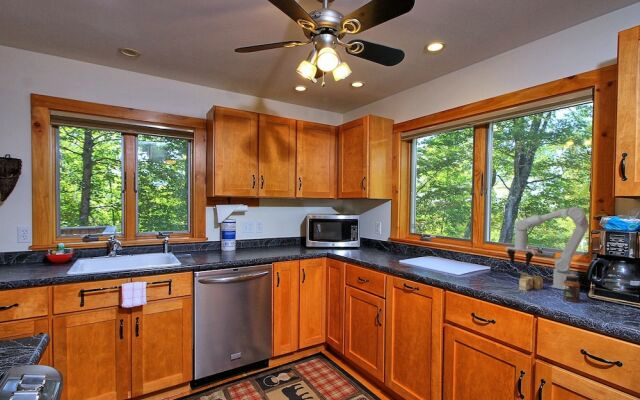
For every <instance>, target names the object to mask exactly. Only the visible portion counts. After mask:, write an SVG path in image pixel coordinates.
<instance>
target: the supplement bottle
mask: <svg viewBox="0 0 640 400" xmlns="http://www.w3.org/2000/svg"><path fill="white" fill-rule="evenodd" d="M580 288H581V287H580V282H579V281H578V277H577V276H576V277H575V276H566V280H564V289H563V292H562V293H563V295H562V296H563V300H564V301H567V302H570V303H571V302H572V303H579V302H580V299H581V297H580V293H581V289H580Z"/></svg>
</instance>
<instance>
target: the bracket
mask: <svg viewBox="0 0 640 400" xmlns="http://www.w3.org/2000/svg"><path fill="white" fill-rule="evenodd" d="M527 276H528V277H533V278H534V285H533V289H535V290H541V289H543V288H544V286H543V284H544V283H543V282H544V278H543V277H541V276H540V275H536V276H535V275H529V274H527V273H525V272H524V273H522V274H520V279H521V278H524V277H527Z"/></svg>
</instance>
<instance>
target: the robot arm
mask: <svg viewBox="0 0 640 400" xmlns="http://www.w3.org/2000/svg"><path fill="white" fill-rule="evenodd" d="M562 217H563V218H568V217H569V218H570V219H571V220H572V221H573V223H574V225H575V228H574V229H573V232H572V233H571V235H570V237H569V238H568V241H567V243H566V245H565V246H564V248H563V251H562V252H561V254H560V255H559V257H558V258H556V259H555V260H554V262H553V263H554V267H555V268H553V275H552V277H553V279H552V280H553V281H552V285H550V288H553V289H558V290H563V289H564V280H566V276H575V277H577V274H576V273H574V272H573V273H572V272H571V270H570V269H571V263H572V260H573V257H574V255H575V253H576V251H577V249H578V248H579V247H580V244H581V242H582V241H583V238H584V236H585V235H586V233H587V231H588V230H589V226H590V225H589V221H588V218H587V214H586V212H585V211H584V210H583V209H582V208H581V207H579V206H571V207H567V208H562V209H558V210H553V211H551V212H549V213H546V214H543V215H538V214H532V215H531V216H528V217H526V218H525V217H523V218H522V219H519V220H517V221H515V223H514V227H515V229H514V231H515V232H514V247H512V246H506V247H505V251H507V252H506V253H507V254H508V257H509V259H510V263H511V264H512V265H513V264H515V255H516V252H517V253H518V252H519V253H525V266H526V267H528V266H530V263H531V260H532V258H533V256H534V255H536V250H535V249H530V248H529V249H528V248H527V238H528V237H527V235H528V233H527V228H529V229H530V228H534V227H537V226H540V225H543V223H544V222H545V221H549V220H553V219H556V218H562Z"/></svg>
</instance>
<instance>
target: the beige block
mask: <svg viewBox="0 0 640 400" xmlns="http://www.w3.org/2000/svg"><path fill="white" fill-rule="evenodd" d="M533 285H534V278H533V277H528V276H527V277H524V278H521V277H520V278H519V282H518V287H519V288H518V289H519V290H520V291H525V292H527V291H529V290H531V289H534V287H533Z"/></svg>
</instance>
